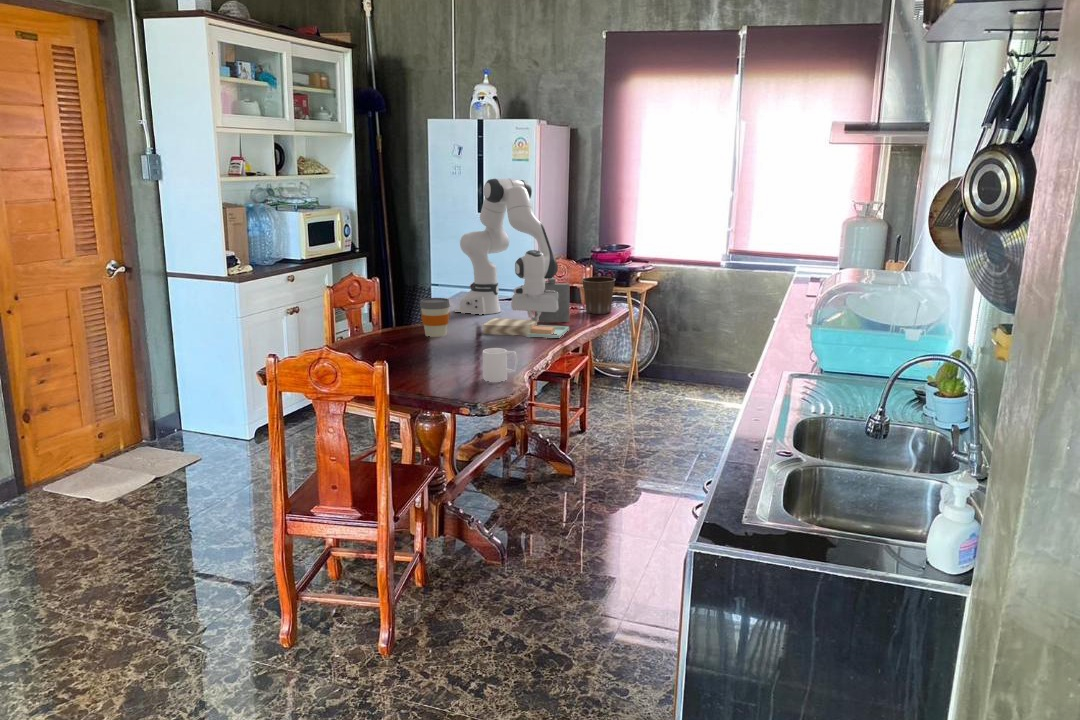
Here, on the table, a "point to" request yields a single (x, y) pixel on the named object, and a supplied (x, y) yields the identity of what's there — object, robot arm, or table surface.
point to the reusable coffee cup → (435, 316)
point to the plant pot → (598, 294)
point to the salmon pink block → (542, 330)
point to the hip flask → (563, 302)
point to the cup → (496, 364)
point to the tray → (558, 330)
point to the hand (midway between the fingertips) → (535, 321)
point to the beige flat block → (508, 326)
